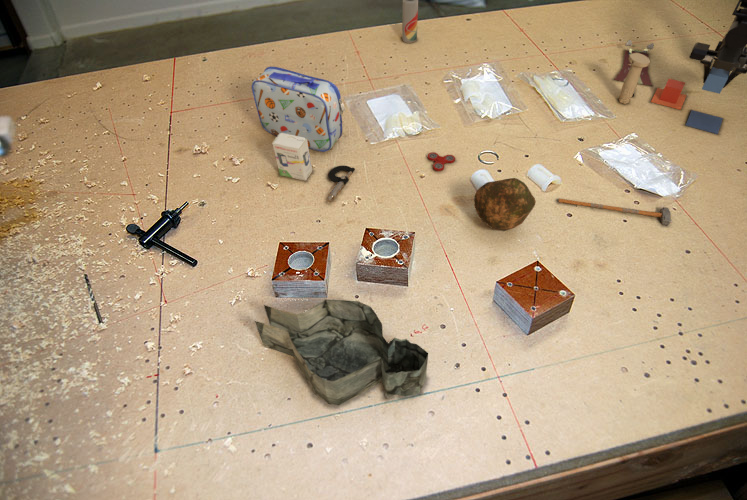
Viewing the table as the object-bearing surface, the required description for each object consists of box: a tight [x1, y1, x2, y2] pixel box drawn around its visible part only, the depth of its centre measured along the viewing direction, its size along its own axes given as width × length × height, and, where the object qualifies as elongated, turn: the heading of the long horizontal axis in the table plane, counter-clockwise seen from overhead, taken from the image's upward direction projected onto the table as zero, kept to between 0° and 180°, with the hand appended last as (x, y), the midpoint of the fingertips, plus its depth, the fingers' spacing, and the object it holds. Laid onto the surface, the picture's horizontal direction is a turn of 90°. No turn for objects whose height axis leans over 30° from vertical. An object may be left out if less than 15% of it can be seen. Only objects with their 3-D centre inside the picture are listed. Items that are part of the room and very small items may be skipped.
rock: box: [473, 177, 537, 232], centre depth 129 cm, size 13×13×15 cm
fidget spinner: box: [427, 151, 456, 172], centre depth 151 cm, size 8×7×1 cm
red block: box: [659, 78, 686, 104], centre depth 167 cm, size 5×5×5 cm
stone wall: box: [254, 298, 429, 406], centre depth 105 cm, size 35×19×10 cm, turn 71°
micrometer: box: [326, 165, 356, 203], centre depth 146 cm, size 15×7×2 cm, turn 154°
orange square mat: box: [650, 87, 687, 110], centre depth 169 cm, size 9×9×1 cm
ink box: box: [271, 133, 313, 181], centre depth 146 cm, size 9×5×12 cm, turn 70°
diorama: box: [613, 39, 655, 97], centre depth 180 cm, size 12×35×5 cm, turn 159°
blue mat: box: [685, 109, 724, 135], centre depth 161 cm, size 9×9×1 cm
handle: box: [618, 53, 651, 105], centre depth 164 cm, size 5×6×15 cm
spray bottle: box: [401, 0, 419, 44], centre depth 194 cm, size 6×6×20 cm
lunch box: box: [251, 66, 346, 153], centre depth 153 cm, size 28×10×22 cm, turn 65°
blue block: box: [701, 66, 731, 95], centre depth 155 cm, size 5×5×5 cm
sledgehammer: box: [558, 198, 672, 226], centre depth 136 cm, size 27×2×5 cm
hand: (713, 84), depth 156 cm, fingers closed on blue block, 5 cm apart
